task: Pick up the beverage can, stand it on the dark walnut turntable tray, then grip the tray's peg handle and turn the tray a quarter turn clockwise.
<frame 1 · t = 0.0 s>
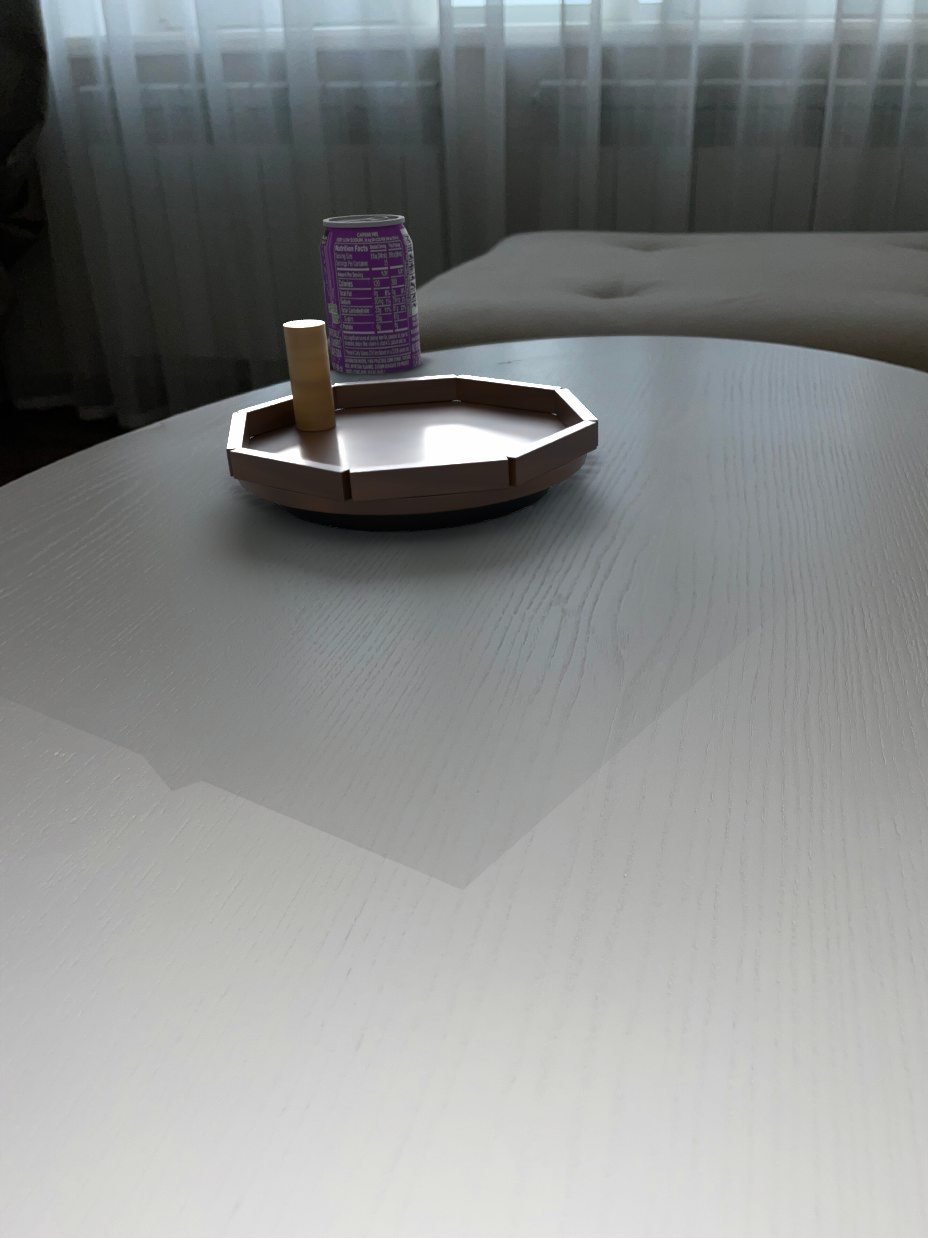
tray: (408, 397, 62), point 5 cm above the table, hinge at 0.0°
beverage can: (378, 382, 89), on the table
turntable base: (415, 485, 64), on the table
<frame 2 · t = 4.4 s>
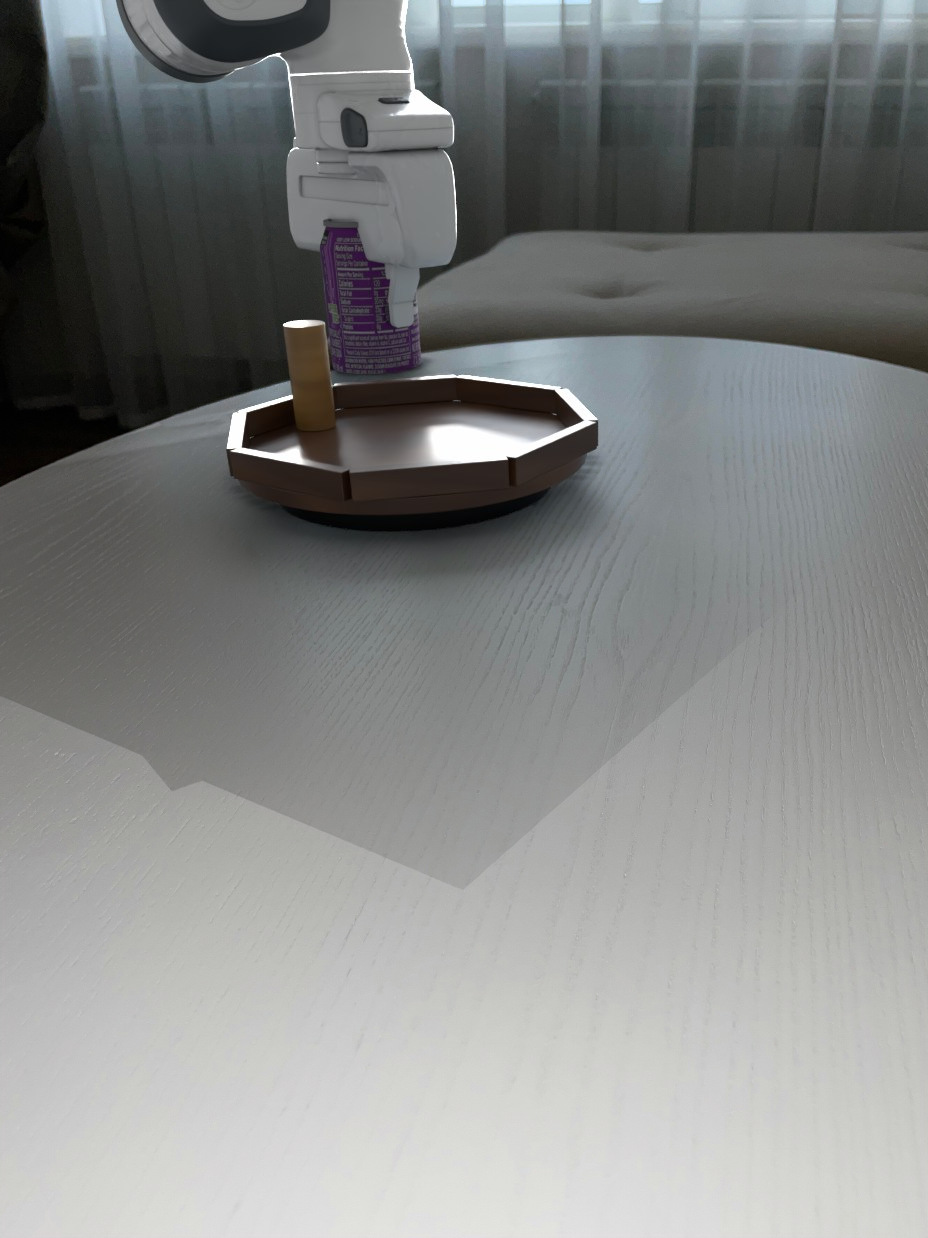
hand: (374, 319, 87), 5 cm above the table, tool pointing down, fingers closed on beverage can, 7 cm apart
beverage can: (379, 382, 89), on the table, touching gripper
everything else where it was.
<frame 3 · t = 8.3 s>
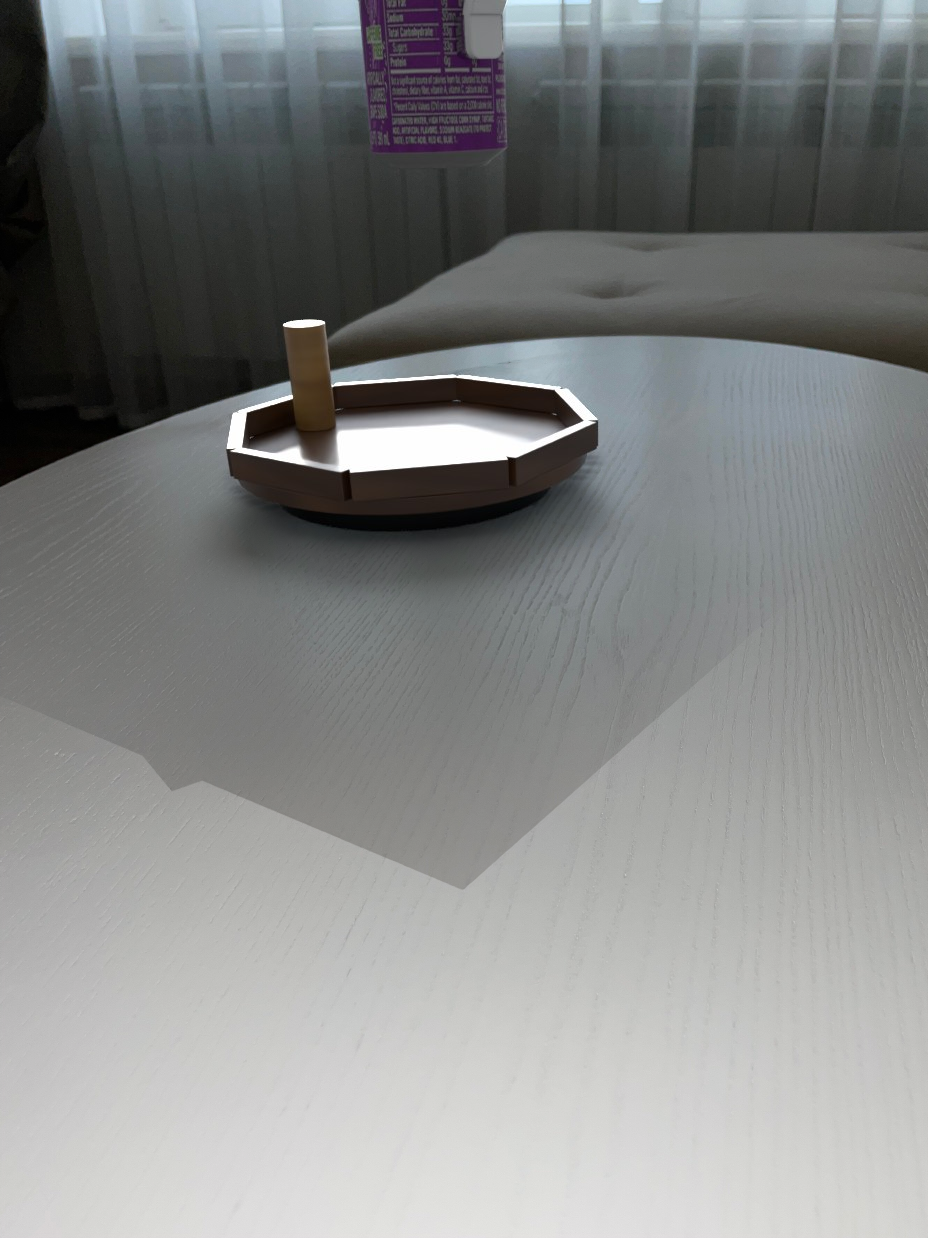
hand: (435, 63, 56), 21 cm above the table, tool pointing down, fingers closed on beverage can, 7 cm apart
beverage can: (440, 170, 58), point 16 cm above the table, touching gripper
everything else where it was.
when the fingers open (7 cm above the table, at t = 12.5 s): beverage can stays where it is, resting on tray.
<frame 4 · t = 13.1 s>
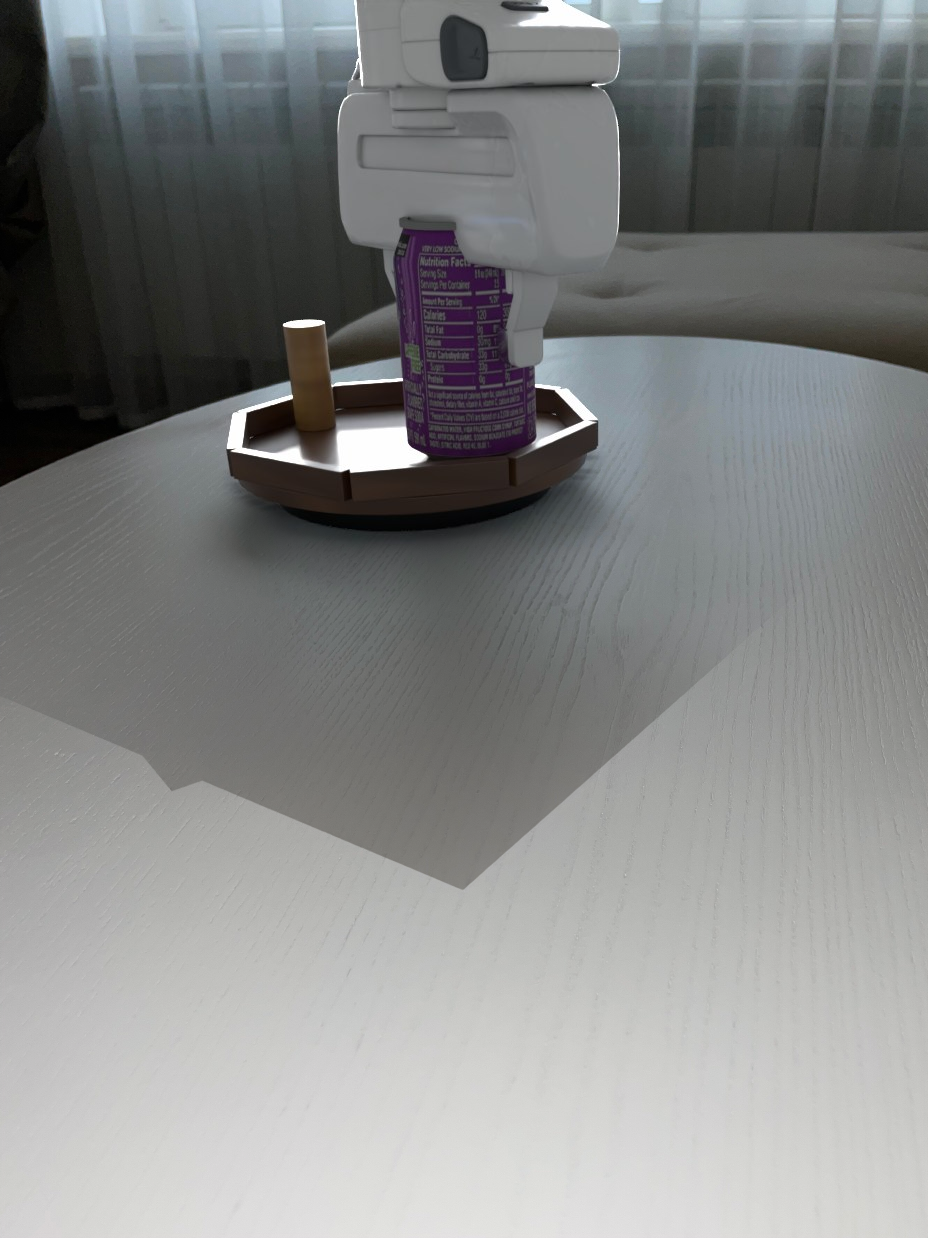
hand: (468, 350, 58), 8 cm above the table, tool pointing down, fingers open, 8 cm apart
tray: (408, 397, 62), point 5 cm above the table, hinge at 0.1°, touching beverage can
beverage can: (473, 455, 61), point 2 cm above the table, touching tray
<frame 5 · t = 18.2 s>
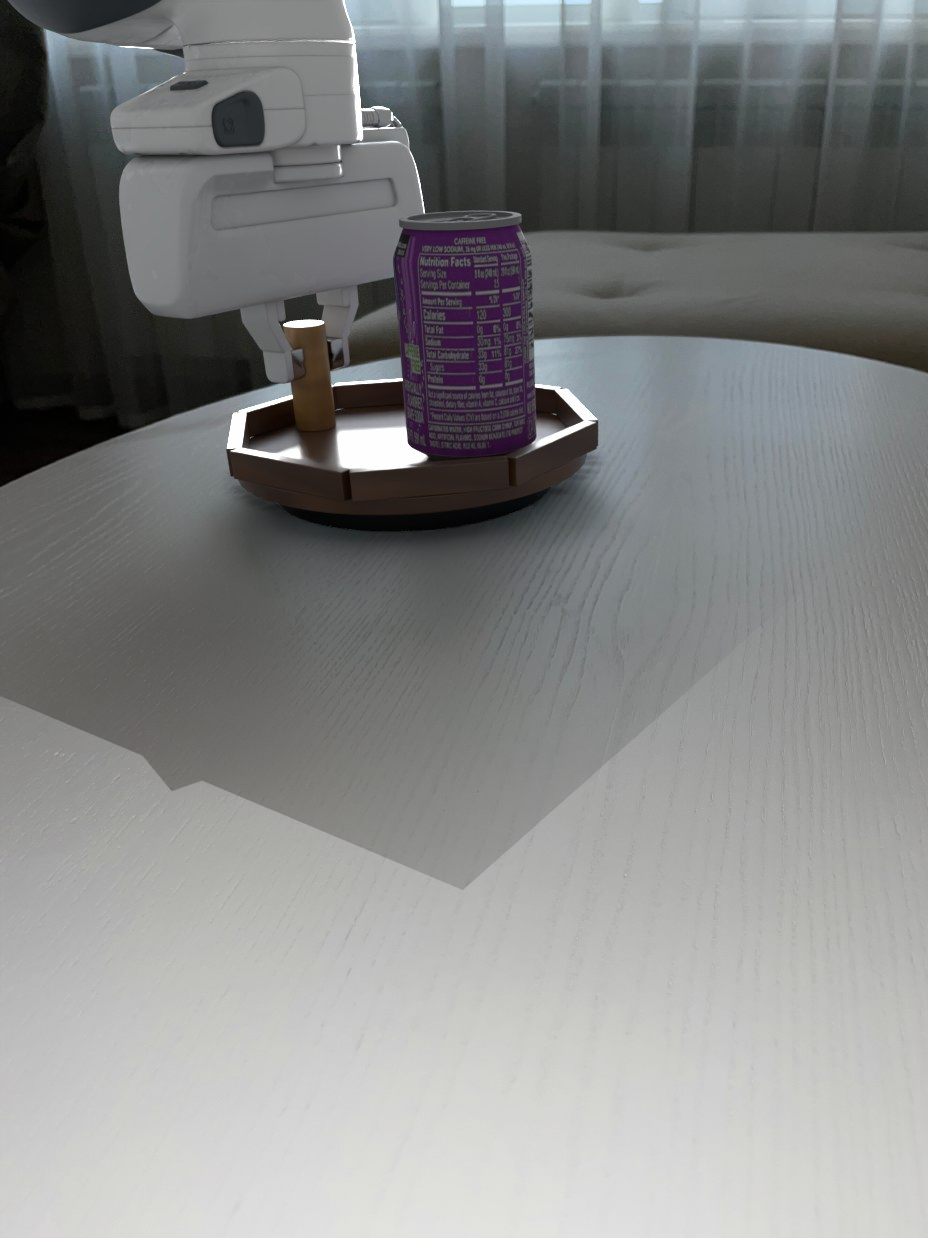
hand: (309, 374, 65), 6 cm above the table, tool pointing down, fingers closed on tray, 2 cm apart
tray: (408, 397, 62), point 5 cm above the table, hinge at 0.0°, touching beverage can, gripper
everything else where it was.
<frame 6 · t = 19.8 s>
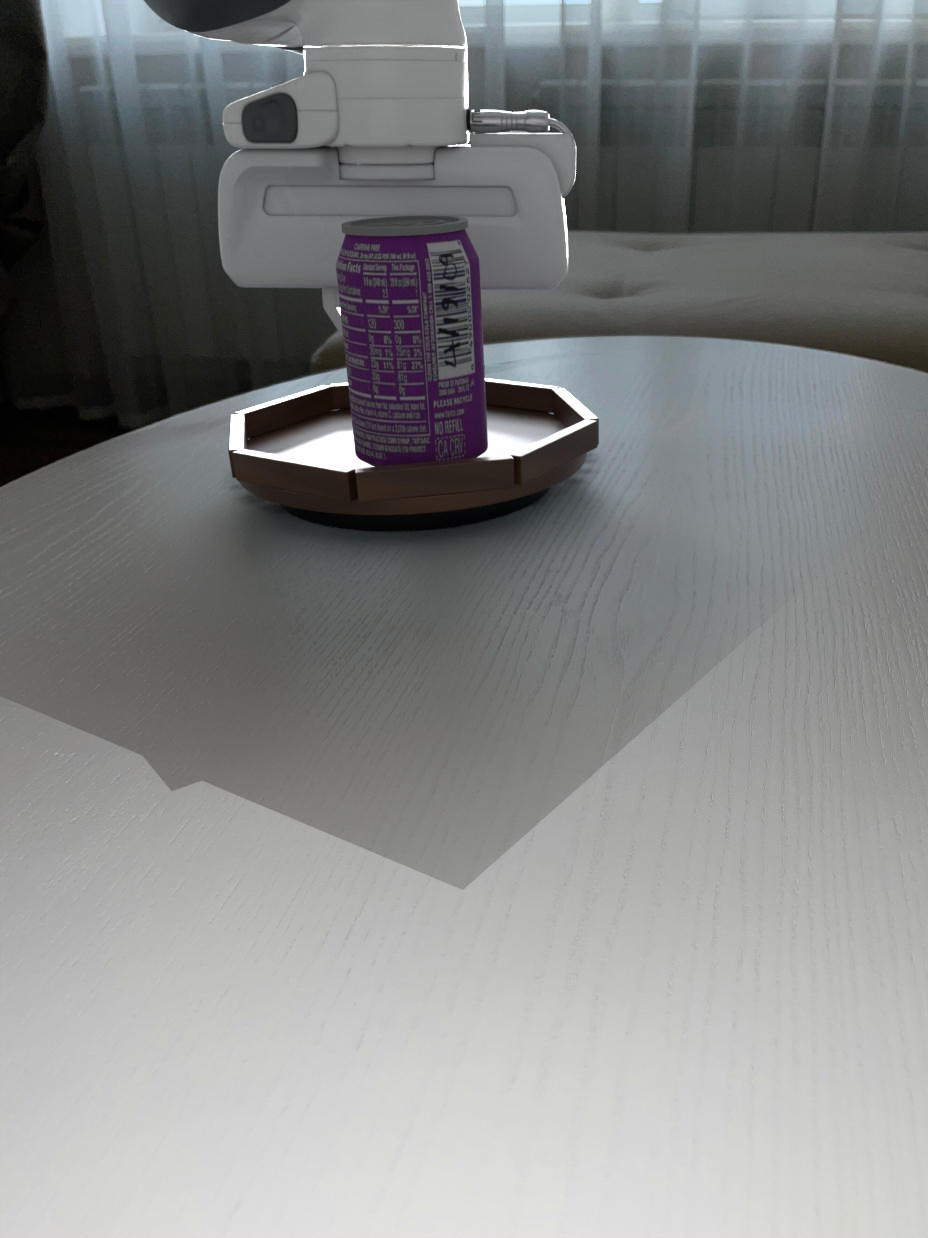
hand: (403, 365, 68), 5 cm above the table, tool pointing down, fingers open, 4 cm apart
tray: (408, 397, 62), point 5 cm above the table, hinge at -43.4°, touching beverage can, gripper
beverage can: (423, 466, 59), point 2 cm above the table, touching tray
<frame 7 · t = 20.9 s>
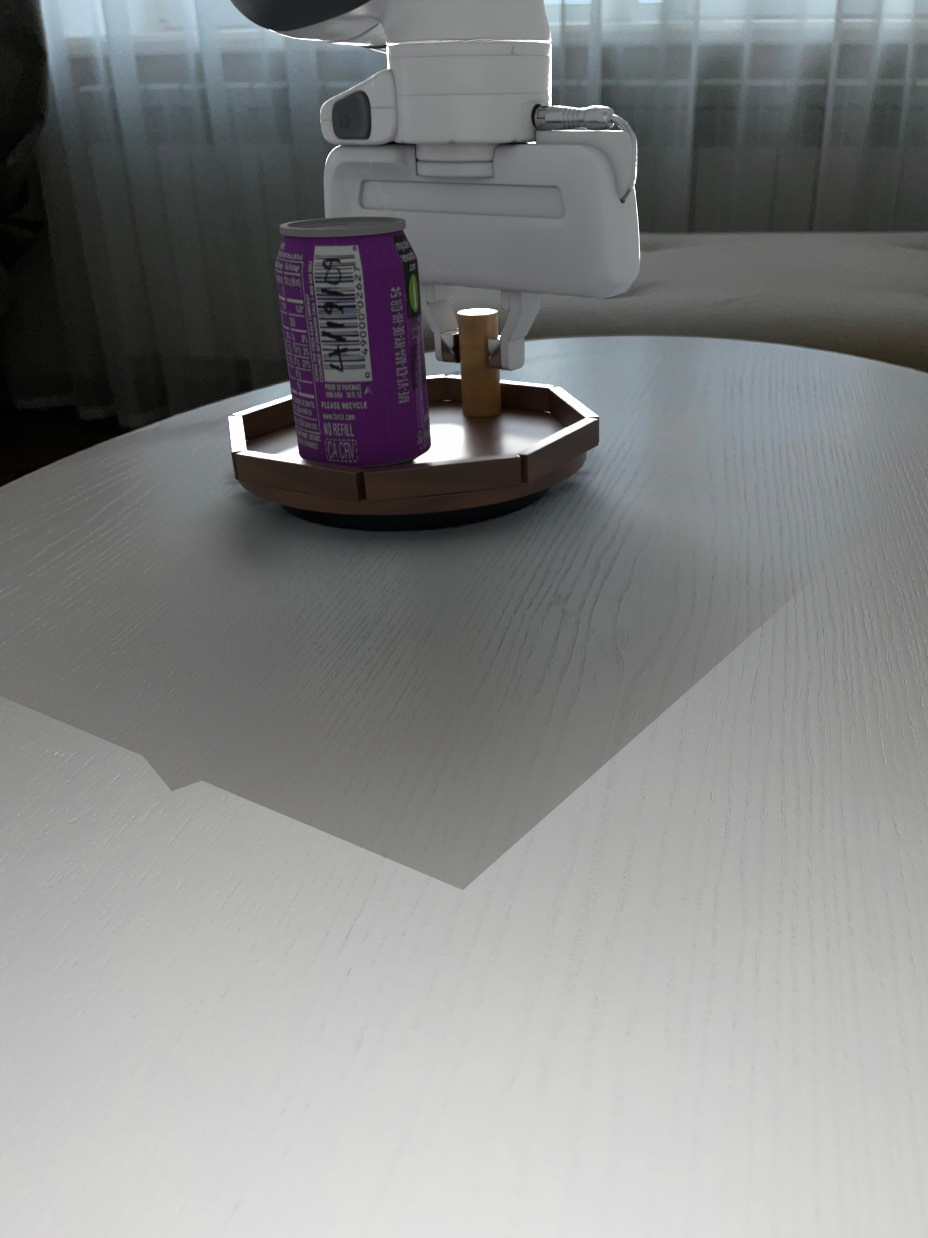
hand: (479, 364, 67), 5 cm above the table, tool pointing down, fingers open, 3 cm apart
tray: (408, 397, 62), point 5 cm above the table, hinge at -86.1°, touching beverage can, gripper
beverage can: (367, 466, 60), point 2 cm above the table, touching tray
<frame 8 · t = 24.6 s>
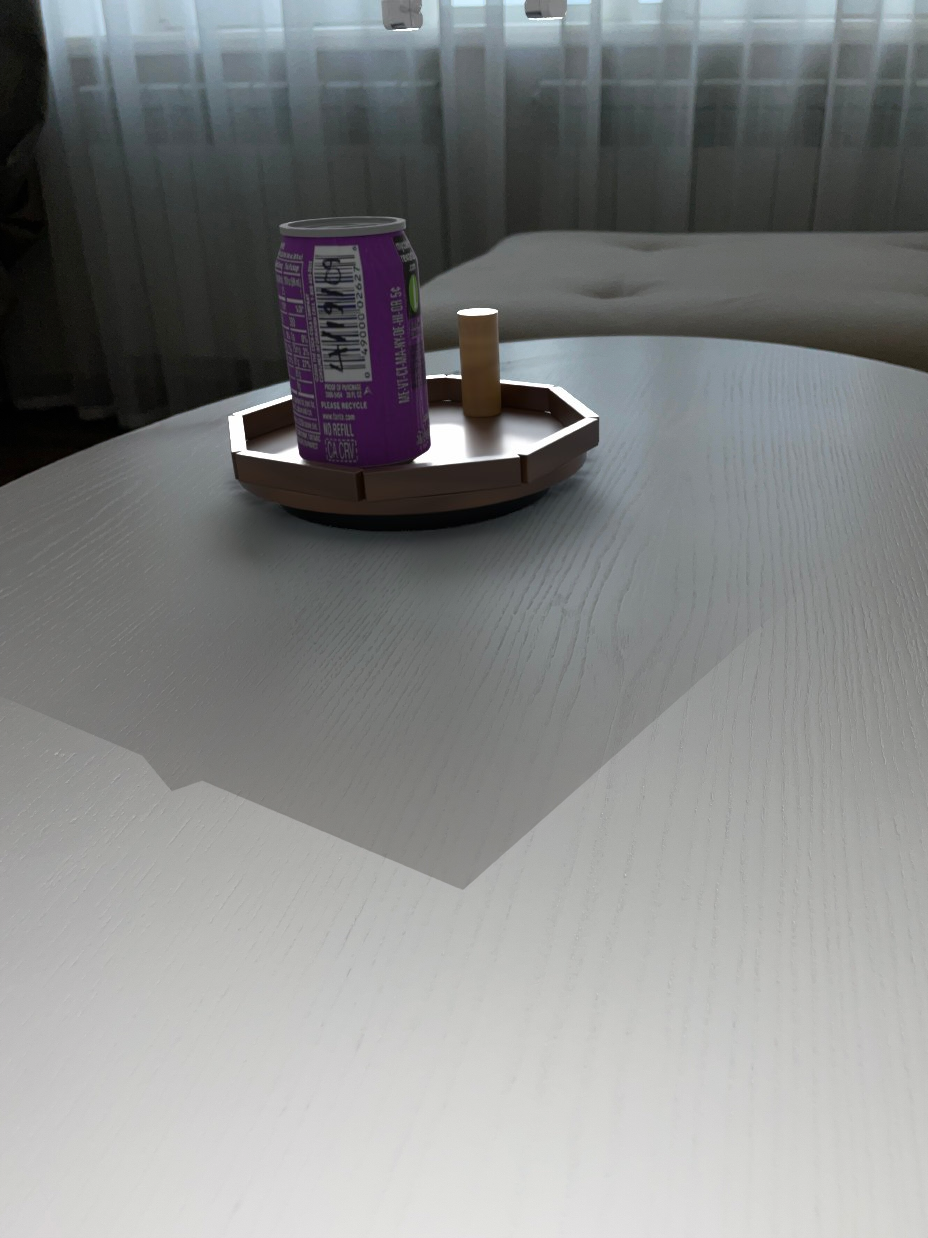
hand: (471, 24, 58), 23 cm above the table, tool pointing down, fingers open, 8 cm apart
tray: (408, 397, 62), point 5 cm above the table, hinge at -86.2°, touching beverage can
everything else where it was.
at the end: tray at -86° (first picture: +0°); beverage can inside the target area on the tray (4.3 cm from its centre), point 2.3 cm above the tray's base; beverage can tilted 0° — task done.
